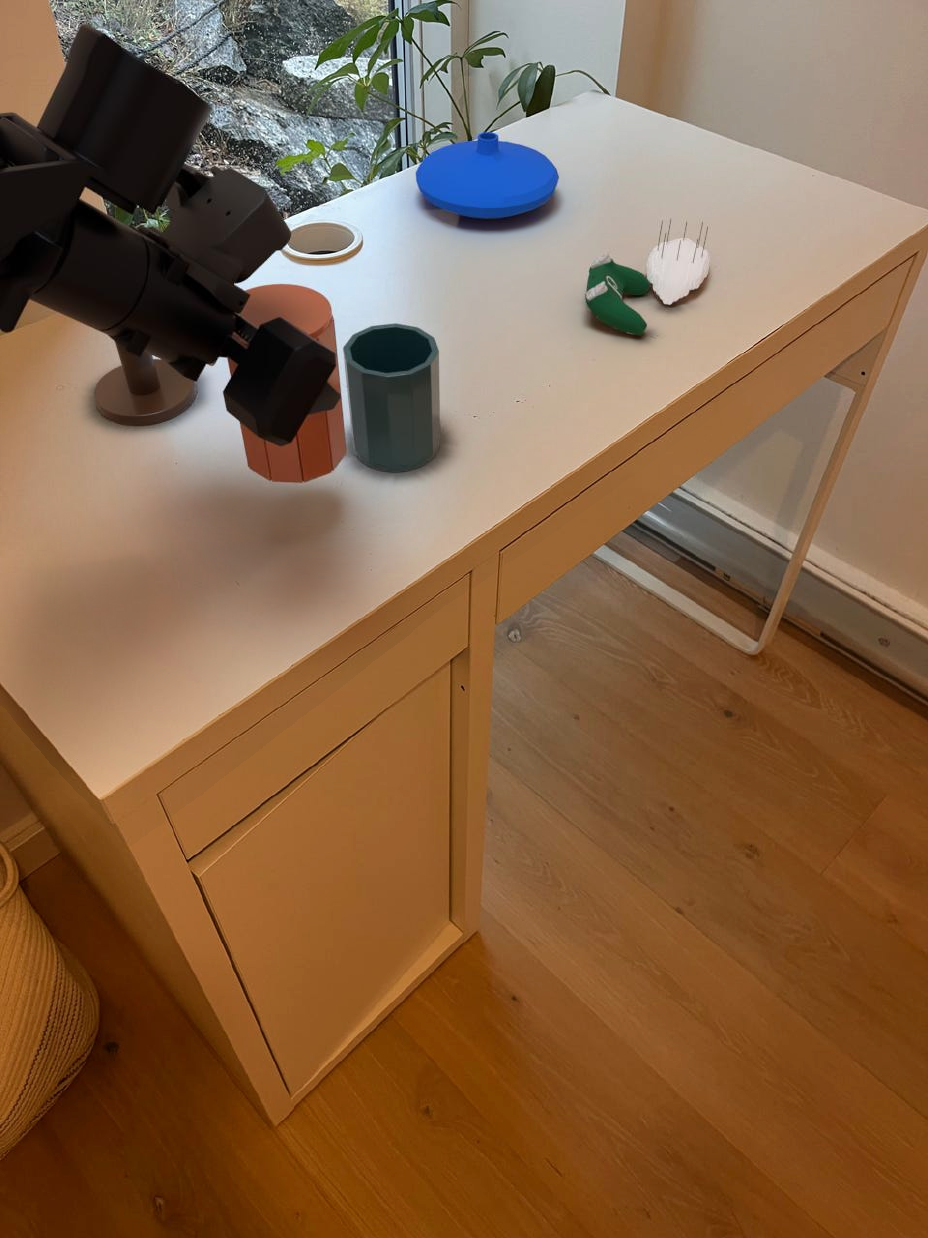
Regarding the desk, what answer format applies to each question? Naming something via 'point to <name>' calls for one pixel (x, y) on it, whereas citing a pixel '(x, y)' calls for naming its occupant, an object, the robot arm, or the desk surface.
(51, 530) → the desk surface
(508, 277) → the desk surface
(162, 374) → the towel holder
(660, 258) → the pincushion
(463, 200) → the vase
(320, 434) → the fluted orange cylinder
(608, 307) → the green christmas stockings
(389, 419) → the teal cup
